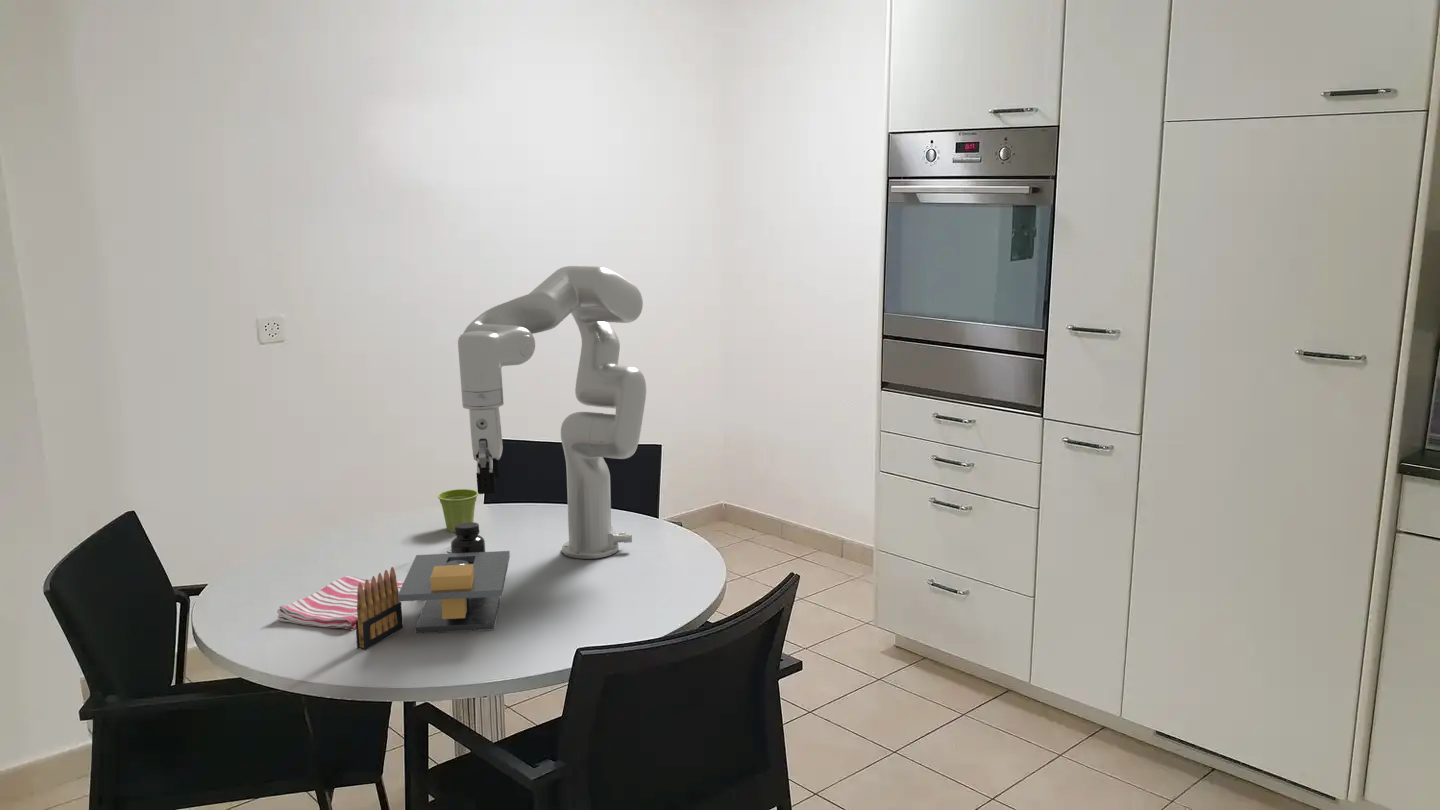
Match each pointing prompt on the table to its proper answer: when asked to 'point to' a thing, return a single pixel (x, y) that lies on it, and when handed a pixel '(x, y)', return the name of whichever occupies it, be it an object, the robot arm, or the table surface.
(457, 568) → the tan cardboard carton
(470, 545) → the supplement bottle
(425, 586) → the gray tiered stand
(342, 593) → the dish towel
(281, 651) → the table surface
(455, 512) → the plant pot
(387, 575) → the ammunition clip
